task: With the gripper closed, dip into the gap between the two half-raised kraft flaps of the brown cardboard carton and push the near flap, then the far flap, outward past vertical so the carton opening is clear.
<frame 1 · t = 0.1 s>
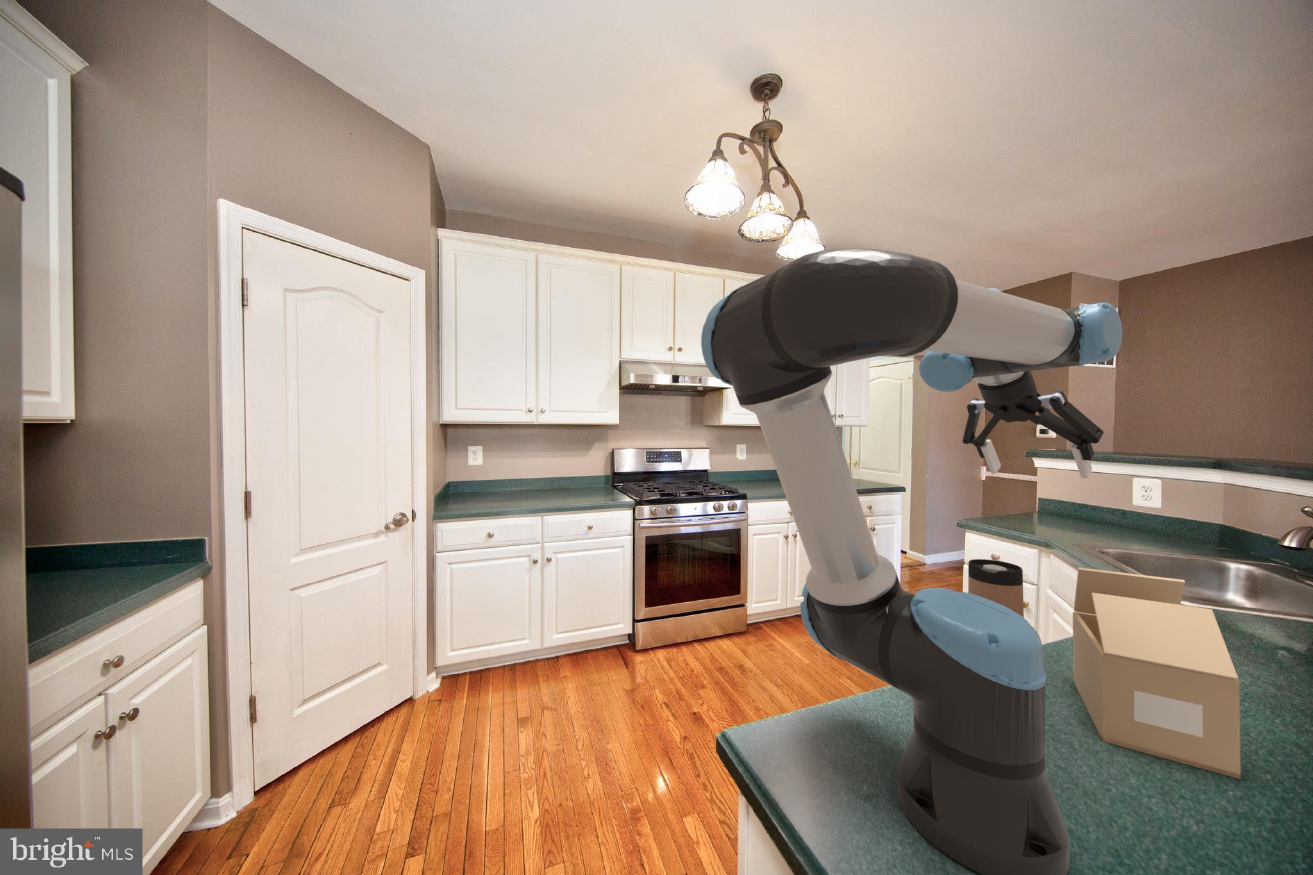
hand: (1038, 471, 81), 36 cm above the countertop, tool tilted 35°, fingers open, 13 cm apart
carton: (1142, 722, 64), on the countertop
near flap: (1157, 631, 59), point 15 cm above the countertop, hinge at 45.0°
travel mug: (995, 681, 75), on the countertop
far flap: (1125, 596, 70), point 16 cm above the countertop, hinge at 65.0°
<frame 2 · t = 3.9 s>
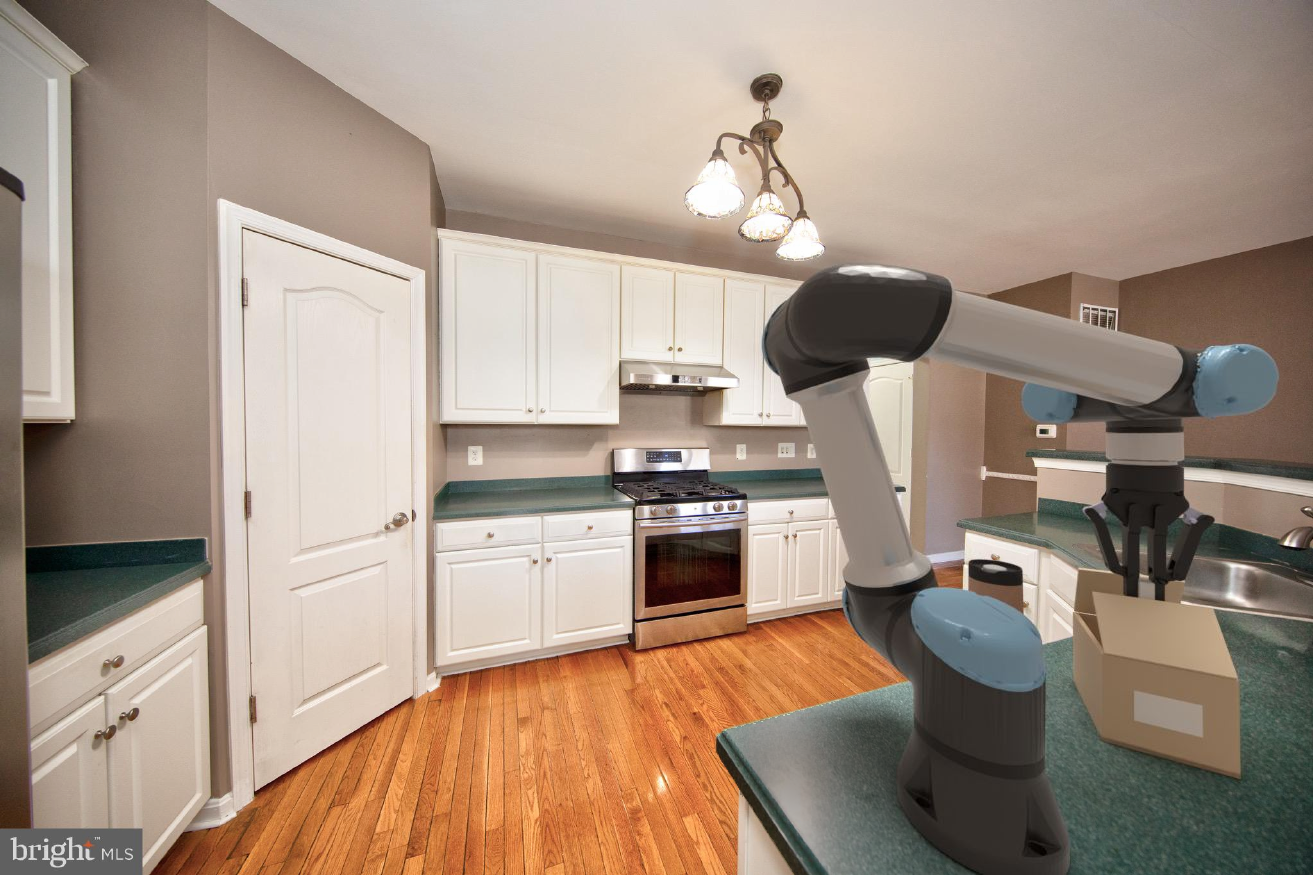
hand: (1143, 624, 63), 15 cm above the countertop, tool pointing down, fingers closed
near flap: (1157, 631, 59), point 16 cm above the countertop, hinge at 47.4°, touching gripper
everything else where it was.
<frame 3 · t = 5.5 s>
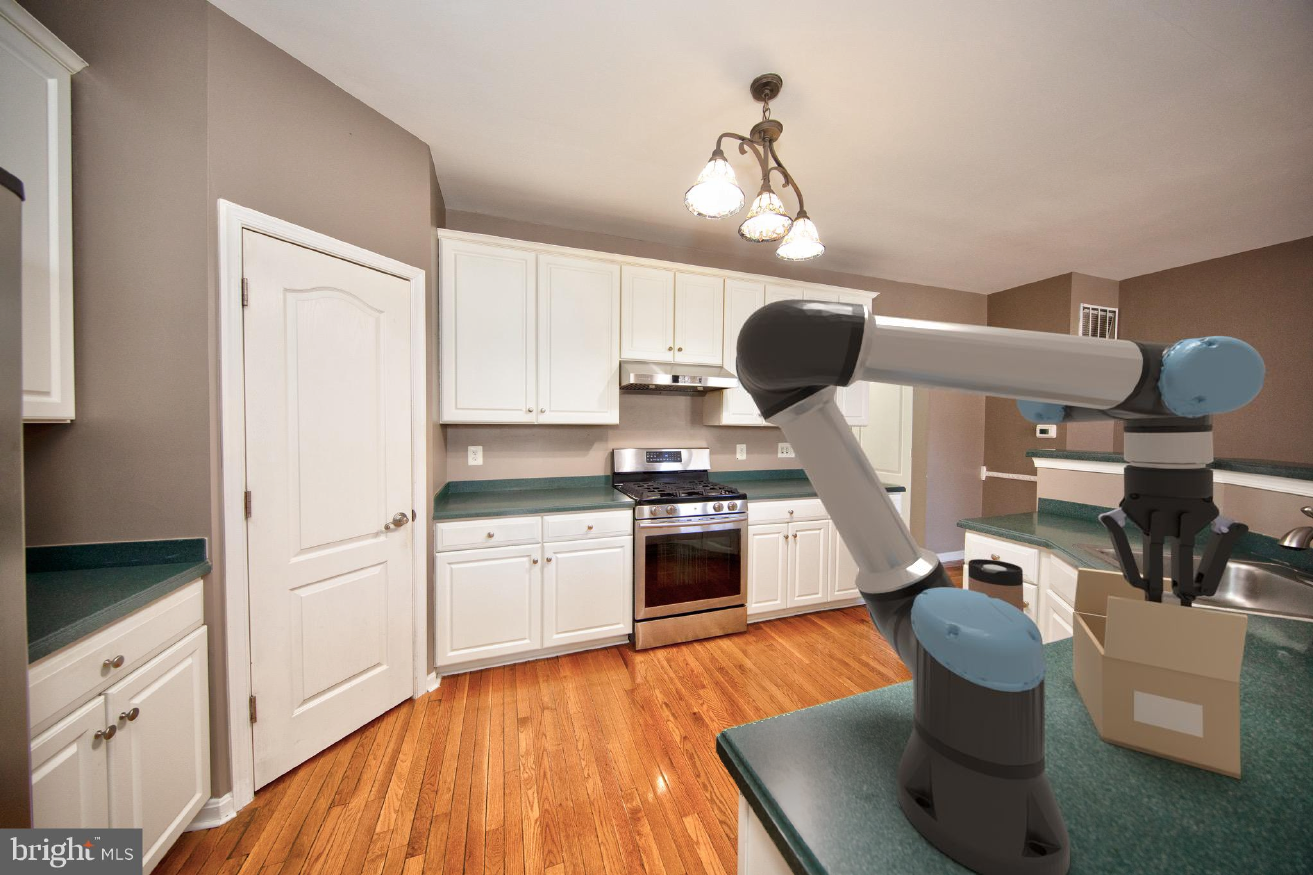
hand: (1167, 643, 57), 15 cm above the countertop, tool pointing down, fingers closed
near flap: (1170, 637, 56), point 16 cm above the countertop, hinge at 104.8°, touching gripper
everything else where it was.
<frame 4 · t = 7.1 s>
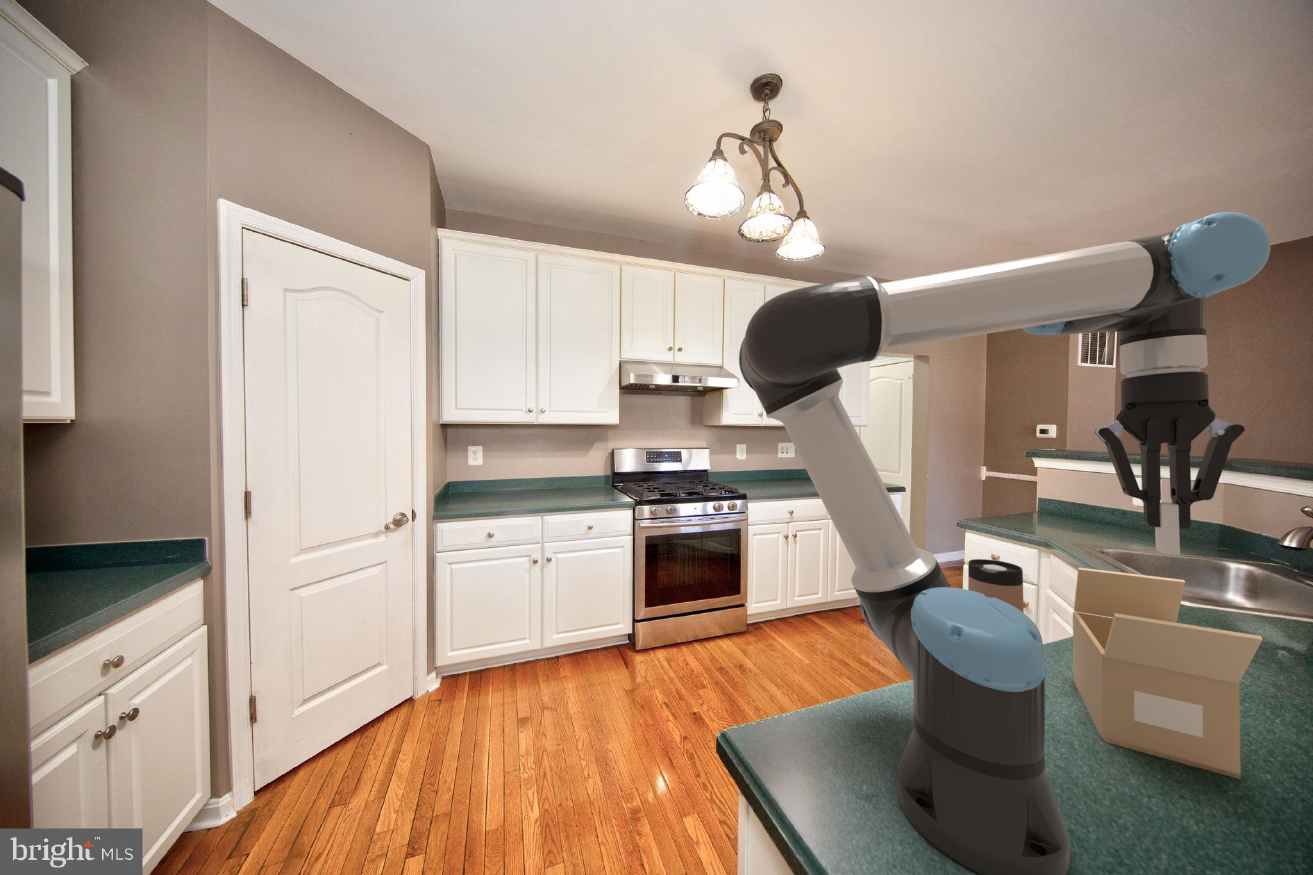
hand: (1167, 552, 57), 27 cm above the countertop, tool pointing down, fingers closed
near flap: (1175, 647, 54), point 16 cm above the countertop, hinge at 125.5°
everything else where it was.
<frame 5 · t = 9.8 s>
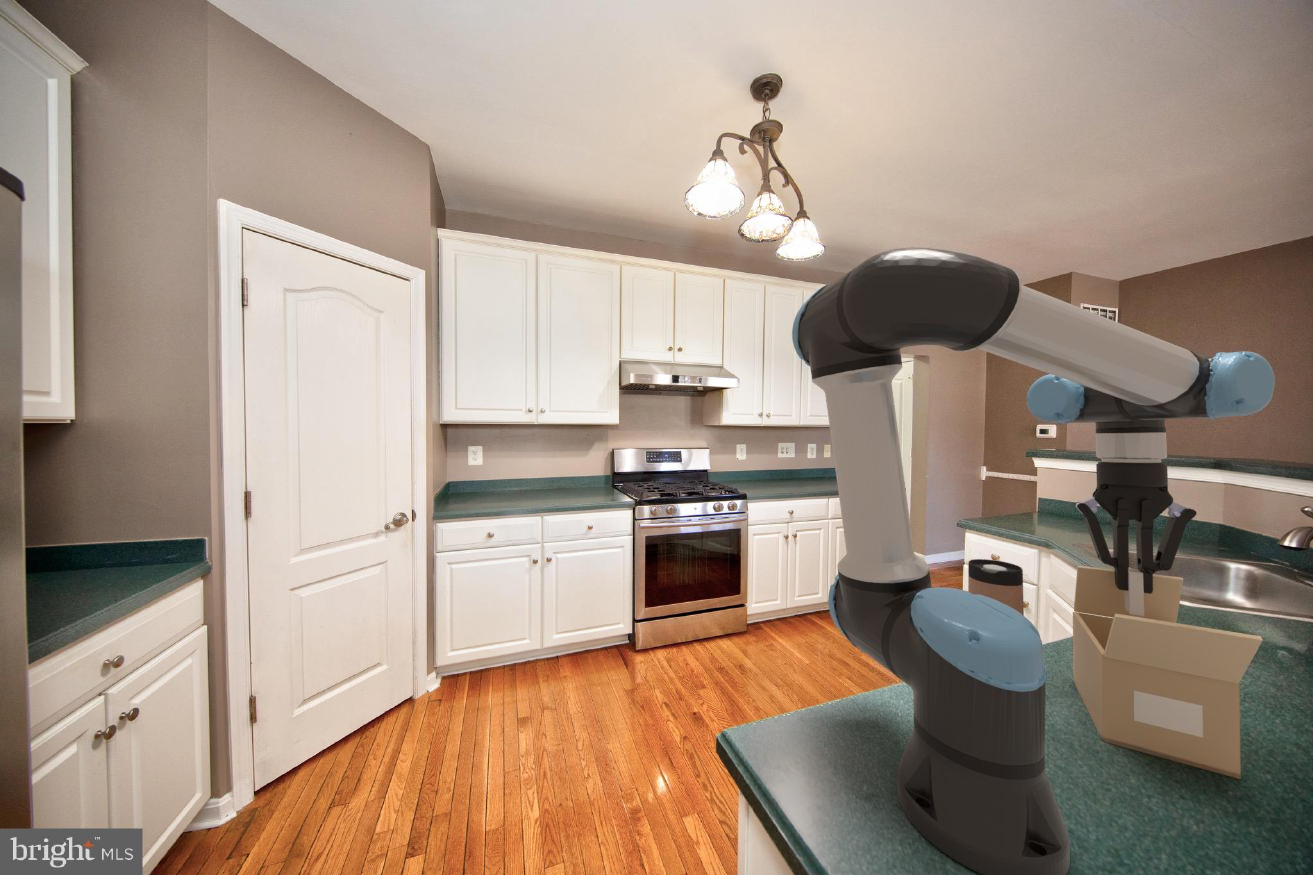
hand: (1134, 612, 68), 15 cm above the countertop, tool pointing down, fingers closed
far flap: (1124, 595, 70), point 16 cm above the countertop, hinge at 68.8°, touching gripper
everything else where it was.
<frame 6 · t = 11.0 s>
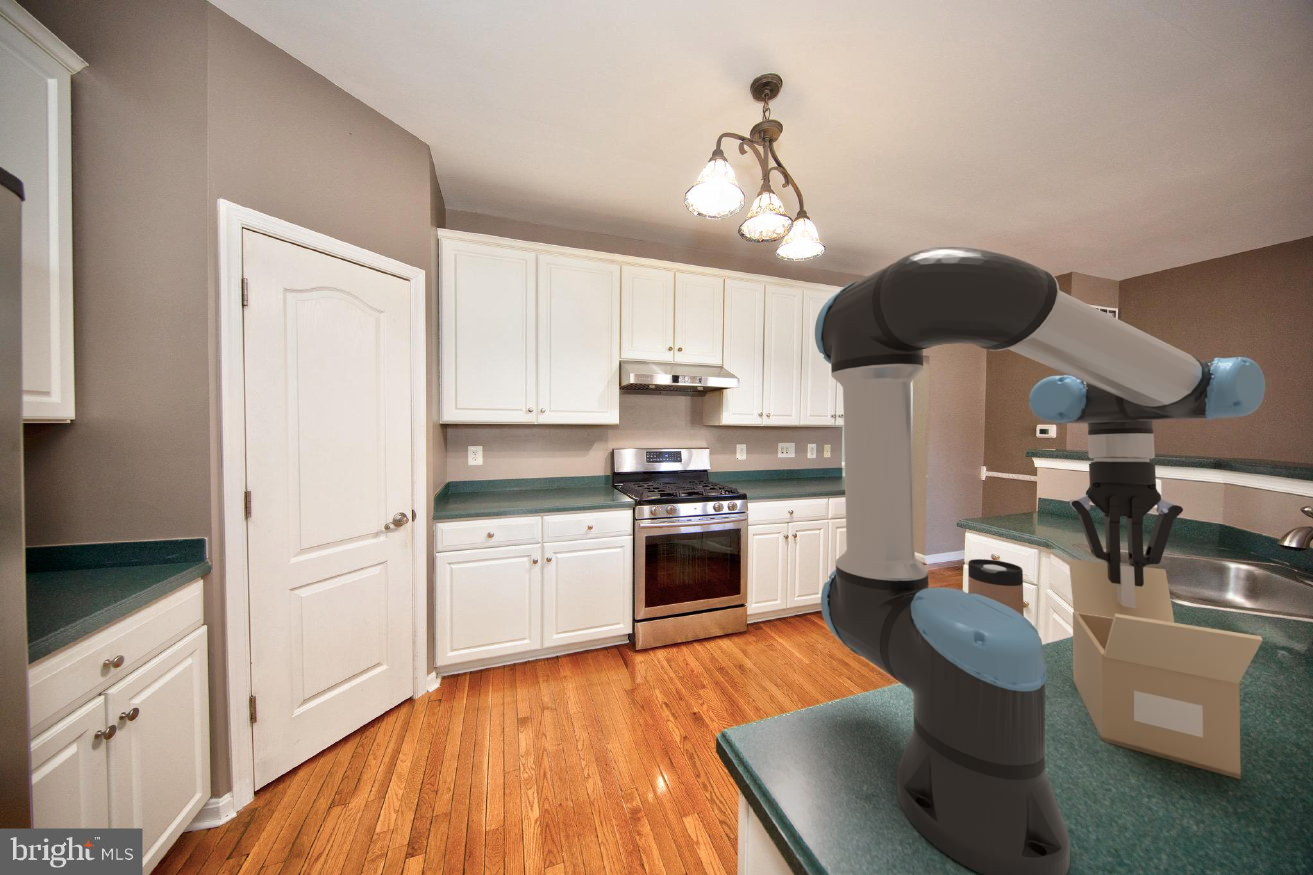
hand: (1126, 604, 71), 15 cm above the countertop, tool pointing down, fingers closed
far flap: (1118, 591, 73), point 16 cm above the countertop, hinge at 113.9°, touching gripper
everything else where it was.
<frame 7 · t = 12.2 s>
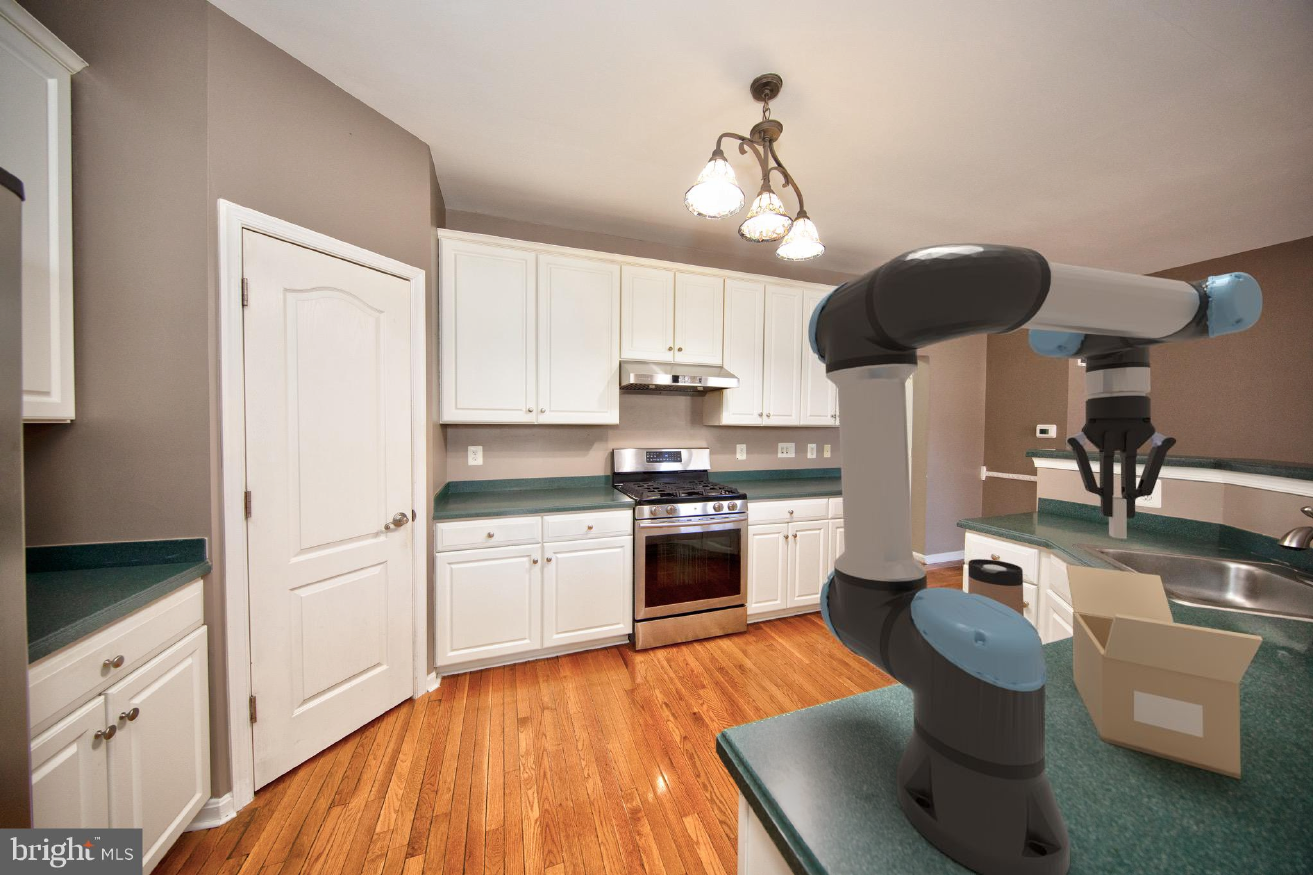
hand: (1117, 536, 73), 25 cm above the countertop, tool pointing down, fingers closed
far flap: (1116, 594, 74), point 15 cm above the countertop, hinge at 132.8°
everything else where it was.
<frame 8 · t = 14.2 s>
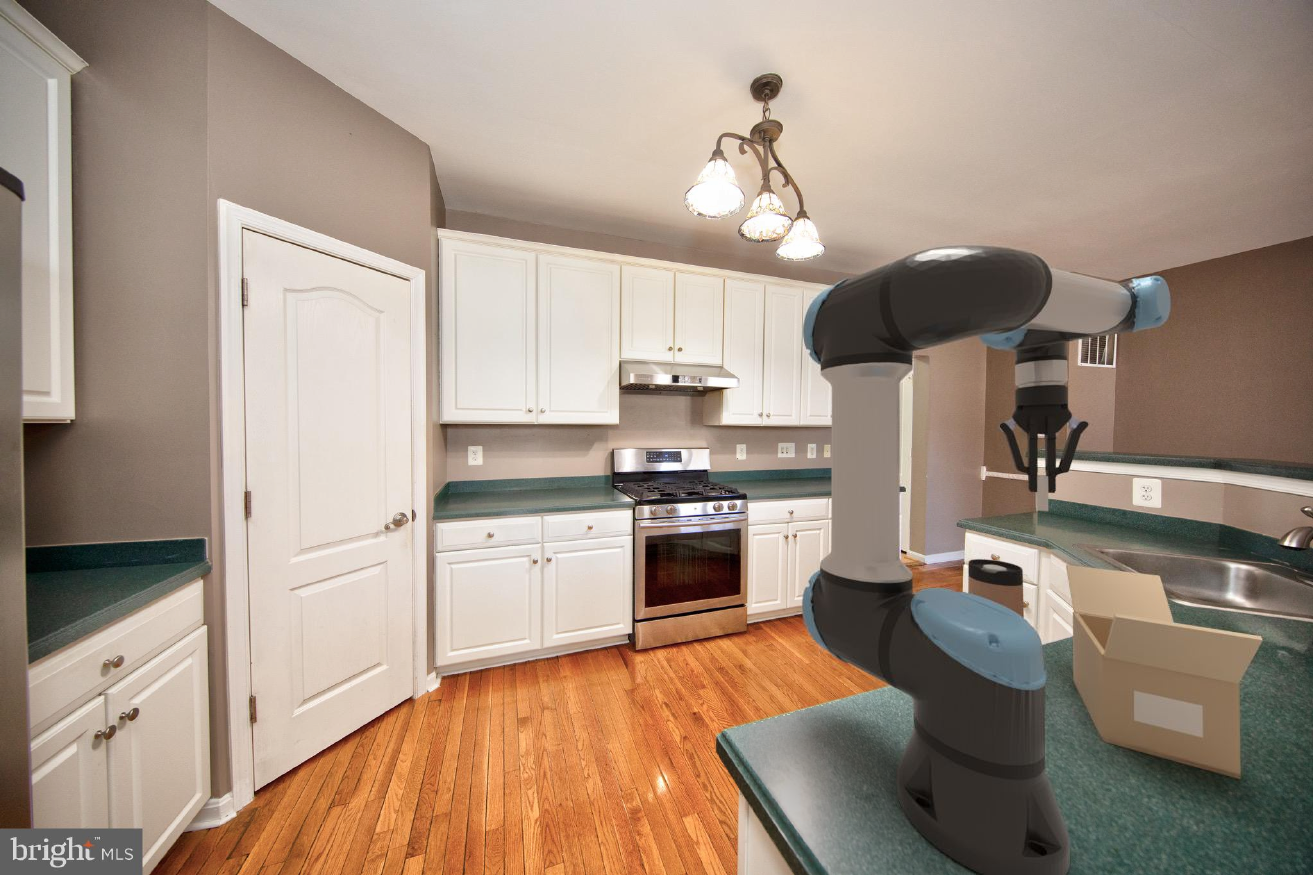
hand: (1041, 509, 82), 28 cm above the countertop, tool pointing down, fingers closed
far flap: (1116, 594, 74), point 15 cm above the countertop, hinge at 133.2°
everything else where it was.
at the end: near flap at +126° (first picture: +45°); far flap at +133° (first picture: +65°) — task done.
